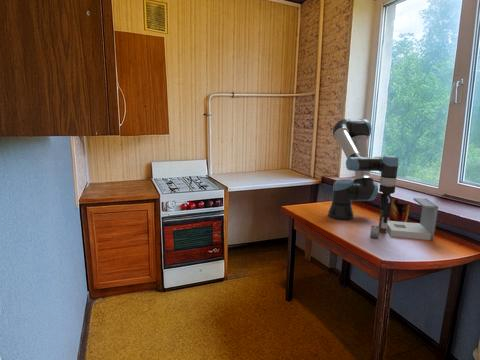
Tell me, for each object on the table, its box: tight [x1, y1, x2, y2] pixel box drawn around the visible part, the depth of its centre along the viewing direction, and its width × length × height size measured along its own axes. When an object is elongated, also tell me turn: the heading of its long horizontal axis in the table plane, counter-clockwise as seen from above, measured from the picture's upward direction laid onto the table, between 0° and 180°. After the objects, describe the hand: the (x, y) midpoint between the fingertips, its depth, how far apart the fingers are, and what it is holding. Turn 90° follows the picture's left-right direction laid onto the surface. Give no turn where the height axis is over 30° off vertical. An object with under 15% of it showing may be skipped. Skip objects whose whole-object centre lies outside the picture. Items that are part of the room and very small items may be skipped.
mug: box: [389, 199, 410, 222], centre depth 180 cm, size 10×14×12 cm
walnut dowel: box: [378, 210, 388, 234], centre depth 163 cm, size 4×4×12 cm
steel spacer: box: [369, 225, 380, 240], centre depth 155 cm, size 4×4×6 cm
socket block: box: [386, 197, 439, 241], centre depth 161 cm, size 16×20×18 cm
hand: (382, 226), depth 163 cm, fingers open, 4 cm apart
